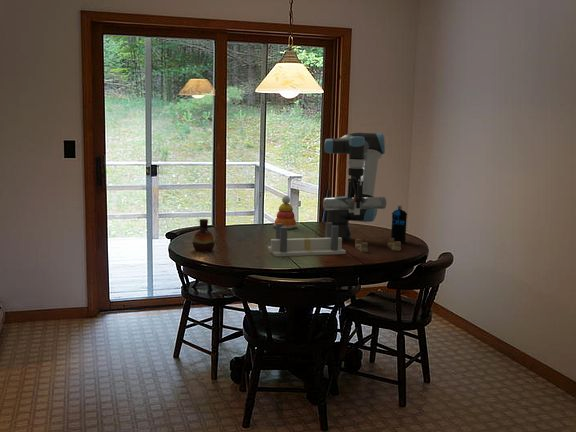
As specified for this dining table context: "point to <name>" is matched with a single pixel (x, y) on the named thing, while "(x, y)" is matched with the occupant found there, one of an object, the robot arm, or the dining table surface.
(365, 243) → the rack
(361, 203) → the tube
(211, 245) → the vase
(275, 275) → the dining table surface
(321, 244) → the white cradle stand
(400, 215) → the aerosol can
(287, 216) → the stacking toy
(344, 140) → the robot arm
